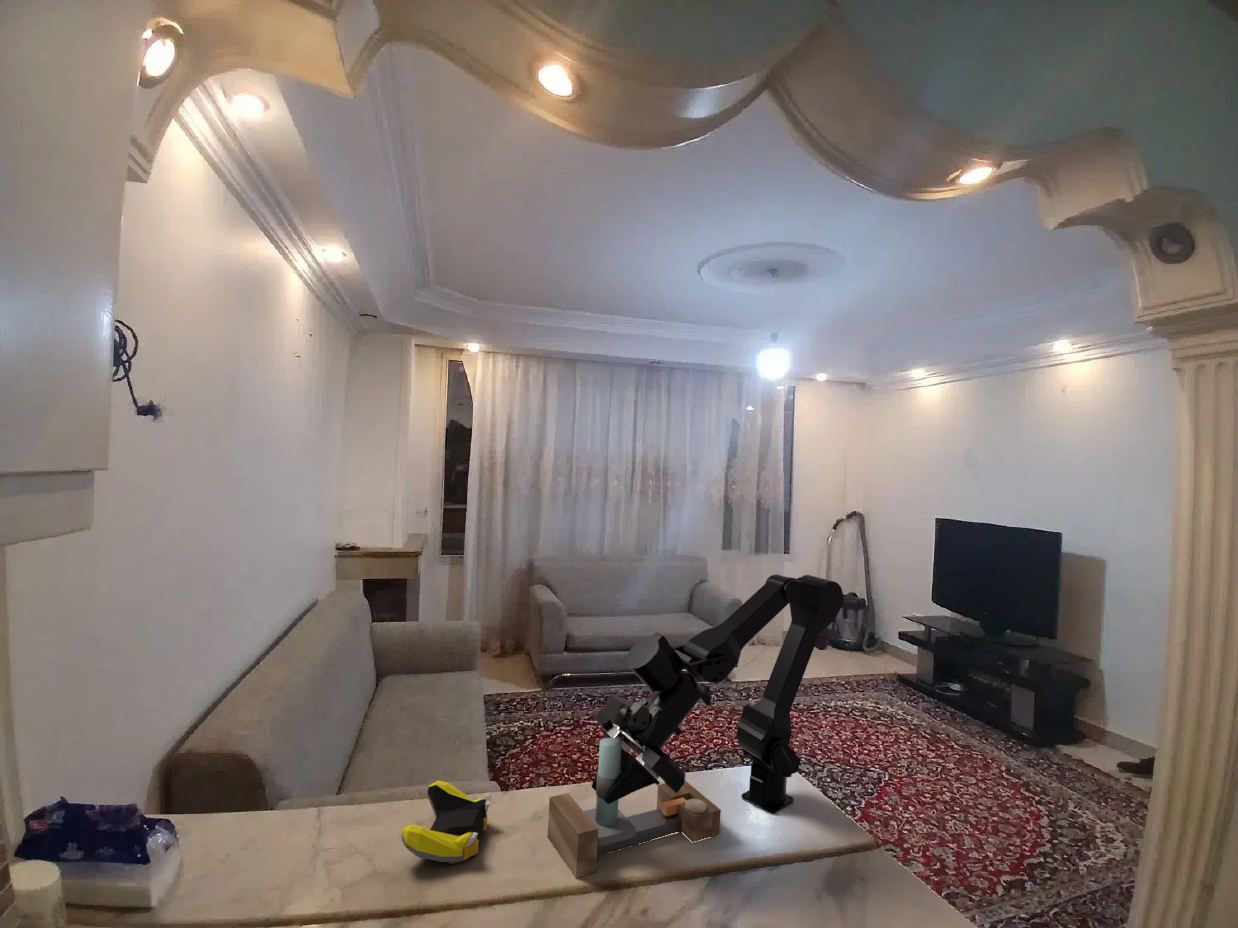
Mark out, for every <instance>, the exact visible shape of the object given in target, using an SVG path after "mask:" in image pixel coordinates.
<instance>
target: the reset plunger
mask: <svg viewBox="0 0 1238 928" xmlns="http://www.w3.org/2000/svg"><path fill="white" fill-rule="evenodd" d="M686 801H687V800H686V799H684V798H679V799H675V800H671V801H667V802H663V803H662V806H661V812H662V813H663V814H664V815H665V816H670V815H673V814H677V813H678V808H679V803H683V802H686Z"/></svg>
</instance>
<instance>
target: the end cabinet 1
mask: <svg viewBox="0 0 1238 928" xmlns="http://www.w3.org/2000/svg"><path fill="white" fill-rule="evenodd" d="M548 803H549V804H548V820H547V823H548V824H547V839H548V840H549V842H550V843H551V844H553V845H552V846H553V848H554V849H555V850H556V851H558V852H557V853H558V855H559V856H560V857H561V859H562V860H563V862H564V863H565V864H566V865H565V866H567V868H568V869H569V870H570V872H571V871H572V872H571V874H572V875H573V876H574V878H575V877H576V878H575V879H578V878H581V877H580V876H582V877H584V876H583V875H585V876H588V875H591V874H590V873H592V874H594V872H595V873H596V872H597V862H598V861H597V860H598V859H597V858H598V856H597V844H598V828H597V827H596V825H595V824H594V823H593V822H592V821H591V819H590V818H589V817H588V816H587V815H586V813H585V812H584V811H585V810H583V808H581V806H580V804H578V803H577V802H576V800H575V799H574V798H573V797H572V795H570V793H569V792H565V793H562V794H558V795H554V796H549V802H548Z"/></svg>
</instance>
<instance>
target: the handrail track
mask: <svg viewBox="0 0 1238 928" xmlns="http://www.w3.org/2000/svg"><path fill="white" fill-rule="evenodd" d="M625 817H626V818H627V819H628V820H629V821H630V822H631V823H632V824H633V825H634V827H635V828H636V837H633V838H629V839H626V840H622V841H618V842H615V843H611V844H607V845H604V846H600V847H598V846H597V857H601V856H604V855H607V854H606V853H608V854H610V853H609V852H611V853H613V852H612V851H615V852H618V851H617V850H619V849H622V850H624V849H623V848H626V849H628V848H627V847H629V848H631V847H630V846H633V847H636V846H639V845H638V844H639V843H643V842H647V841H650V840H652V839H655V838H658V837H662V836H665V835H668V834H671V833H675V832H681V823H682V820H681V819H680V818H679V817H678V813H677V814H673V815H670V816H665V815H664V814H663V813H662V812H661V808H660V809H657V808H656V809H653V810H649V811H646V812H641V813H638V814H633V815H630V816H629V815H628V816H625ZM650 842H651V841H650ZM647 843H648V842H647ZM643 844H644V843H643ZM635 845H636V846H635ZM619 851H620V850H619Z"/></svg>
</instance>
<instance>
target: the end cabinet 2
mask: <svg viewBox="0 0 1238 928" xmlns="http://www.w3.org/2000/svg"><path fill="white" fill-rule="evenodd" d="M656 793H657V795H656V809H660V808H661V806H662V803H663V802H667V801H671V800H675V799H679V798H684V799H686V800H687V801H686V802H683V803H679V808H678V817H679V818H680V819H681V820H682V823H681V832H683V833H684V834H685V835H686V836H687V837H688V838H689V839H690V840H691V841H692V842H694V841H698V840H701V839H704V838H708V837H714V838H716V837H715V836H717V837H719V836H720V830H721V829H720V828H721V812H722V810H721V808H720V807H718V806H717V805H715V804H714V803H713V802H712V801H711V800H710V799H709V798H707V797H706V796H705V795H703V793H701V792H700V791H699V790H697V788H695V787H694V786H692V785H691V784H690V782H688V781H687V780H685V783H684V785H683V786H682V787H681V789H680V790H679V791H678V793H675V792H674V791H673V790H672V789H671V788H670V787H669V786H667V785H666V784H665V782H663V783H661V784H660V783H659V784H658V785H657V792H656ZM718 835H719V836H718Z"/></svg>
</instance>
